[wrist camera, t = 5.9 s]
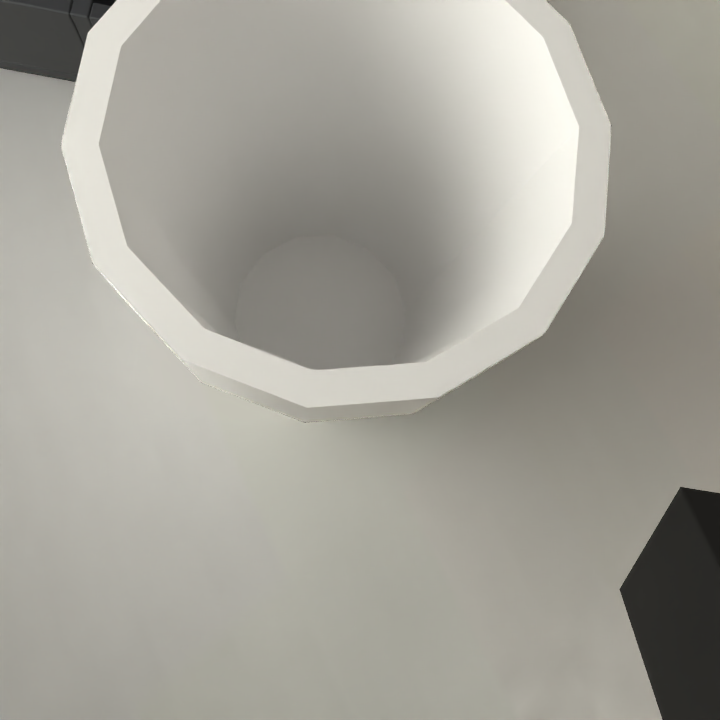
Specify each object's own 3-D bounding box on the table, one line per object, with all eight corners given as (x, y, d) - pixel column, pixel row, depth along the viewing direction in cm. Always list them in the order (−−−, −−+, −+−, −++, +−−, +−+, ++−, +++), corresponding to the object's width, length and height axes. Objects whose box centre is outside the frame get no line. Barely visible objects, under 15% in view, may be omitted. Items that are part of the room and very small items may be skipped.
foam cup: (157, 233, 25) (8, -46, 12) (400, 169, 26) (501, -143, 13) (231, 490, 23) (153, 487, 10) (484, 408, 24) (690, 317, 12)
